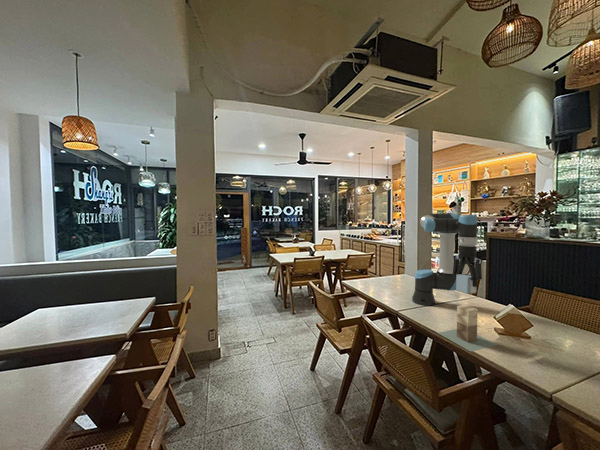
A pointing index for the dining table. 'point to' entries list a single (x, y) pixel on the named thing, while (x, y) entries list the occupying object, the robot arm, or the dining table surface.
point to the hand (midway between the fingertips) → (466, 290)
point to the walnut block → (467, 332)
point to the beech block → (467, 315)
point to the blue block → (463, 283)
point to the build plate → (470, 346)
